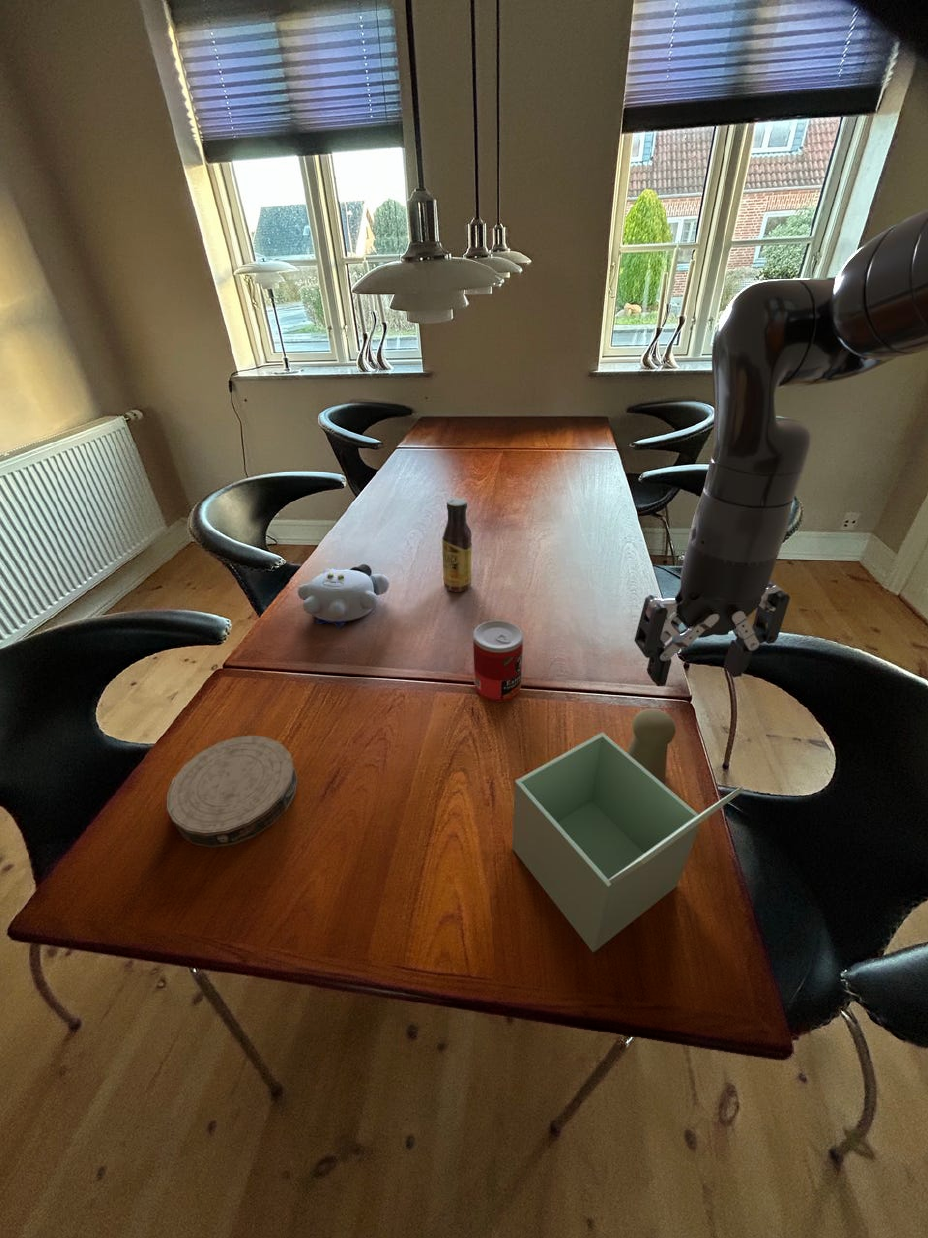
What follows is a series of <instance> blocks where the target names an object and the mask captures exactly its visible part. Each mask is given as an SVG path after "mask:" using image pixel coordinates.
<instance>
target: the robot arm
mask: <svg viewBox="0 0 928 1238" xmlns="http://www.w3.org/2000/svg"><path fill="white" fill-rule="evenodd" d="M925 351H928V207H927V208H925V209H923V210H921V211H918V212H917V213H915V214H914V215H911V216H909V217H908V218H906V219H904V220H902V221H900V222H898V223H897V224H895V225H893V226H891V227H889V228H887V229H886V230H884V231H883V232H881V233H878V235H876V236H874V237H873V238H872V239H870V240H869V241H868V242H866V243H864V244H863V245H862V246H860V248H859V249H857V250H856V251H855V252H854V253H853V254H852V255H851V256H850V257H849V258H848V259H847V261H846V262H845V264H844V265H843V266H842V268H841V270H840V271H839V273H838V275H837V276H834V277H832V276H831V277H812V278H810V277H809V278H785V279H784V278H783V279H767V280H762V281H758V282H754V283H751V284H750V285H748V286H746V287H745V288H743V289H742V290H741V291H740V292H739V293H737V294H736V296H734V297H733V299H732V300H731V301H730V303H729V304H728V306H726V309H725V310H724V312H723V313H722V315H721V316H720V319H719V322H718V324H717V327H716V329H715V331H714V336H713V342H712V349H711V374H712V386H713V388H712V390H713V418H714V419H713V424H714V425H713V426H714V442H713V447H712V451H711V455H710V458H709V459H710V460H709V464H708V468H707V473H706V477H705V482H704V486H703V489H702V492H701V495H700V498H699V500H698V503H697V506H696V508H695V512H694V515H693V519H692V523H691V528H690V531H689V536H688V541H687V543H686V548H685V549H686V550H685V552H684V557H683V562H682V567H681V570H680V587H679V590H678V591H677V593H676V595H675V596H674V597H673V598H664V599H663V598H661V599H660V598H659V597H657V595H655V594H649V595H647V596H646V597H645V599H644V601H643V605H642V610H641V614H640V617H639V620H638V625H637V628H636V631H635V632H636V633H635V636H634V643H635V644H636V646H637V647H638V649H639V650H640V651H641V653H642V654H643V656H644V657H645V658H646V659H648V662H647V667H646V672H647V675H648V677H649V678H650V680H651V681H652V683H654V684H655V685H656V686H657V687H665V686H666V684H667V680H668V677H669V673H670V670H671V669H670V668H671V665H672V657H673V656H674V655H675V654H676V653H677V652H679V650H681V649H682V648H688V647H690V646H691V645H692V644H693V643H694V642H695V640H697V639H701V638H709V637H712V636H727V635H729V633H730V632H732V633H733V634H734V636H735V637H736V638H732V639H731V641H730V644H729V647H728V650H727V653H726V655H725V660H724V663H723V667H724V669H725V671H726V672H727V673H728V674H729V675H730V676H731V677H732V678H739V677H742V675H743V672H745V671H746V670H747V669H748V666H749V663H750V660H751V658H752V656H753V652H754V651H756V650H757V649H759V647H760V645H762V644H764V643H766V644H768V645H771V644H774V643H775V642H776V641H777V640H778V639H779V635H780V632H781V628H782V625H783V622H784V619H785V616H786V613H787V610H788V606H789V603H790V600H791V596H790V595H789V594H788V593H787V592H786V591H785V590H783V589H782V588H781V587H779V586H778V585H777V584H775V583H774V582H772V581H770V580H771V578H772V575H773V572H774V569H775V565H776V563H777V559H778V557H779V554H780V551H781V548H782V546H783V542H784V540H785V536H786V533H787V531H788V527H789V524H790V523H789V522H790V519H791V512H792V506H793V502H794V499H795V496H796V493H797V490H798V488H799V485H800V482H801V478H802V476H803V472H804V470H805V466H806V464H807V461H808V458H809V455H810V450H811V446H812V439H813V437H812V433H811V430H810V429H809V427H808V426H807V425H805V424H804V423H802V422H801V421H798V420H796V419H792V418H788V417H785V416H780V415H777V412H776V393H777V390H778V389H782V388H783V389H784V388H796V387H809V386H819V385H825V384H829V383H834V382H838V381H843V380H845V379H850V378H853V377H856V376H859V375H861V374H863V373H866V372H869V371H871V370H873V369H875V368H878V367H879V366H882V365H884V364H886V363H889V362H891V361H893V360H894V359H896V358H900V357H904V356H905V357H906V356H908V355H914V354H917V353H920V352H925ZM755 610H756V611H755ZM754 612H756V613H755V616H754V620H753V623H752V625H751V623H750V622H749V620H748V617H749V616H750V615H751V614H752V613H754ZM681 624H682V625H683V626H684V627H685V629H686V630H685V631H684V632H683V633H682V631H681V630H680V628H679V627H680V625H681ZM668 641H669V642H668ZM667 642H668V643H667ZM666 643H667V644H666Z"/></svg>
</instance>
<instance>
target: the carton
mask: <svg viewBox="0 0 928 1238" xmlns="http://www.w3.org/2000/svg"><path fill="white" fill-rule="evenodd" d="M513 792H514V794H513V795H514V796H513V798H514V799H513V817H512V818H513V819H512V820H513V821H512V841H511V842H512V844H511V845H512V846H511V849H512V850H513V852H514V853H515V854H516V855H517V857H518V858H519V859H520V860H521V862H522V863H523V864H524V866H525V867H526V868H527V869H528V871H529V872H530V873H531V875H532V876H533V877H534V878H535V880H536V881H537V883H538V884H539V885H540V887H542V889H543V890H544V891H545V893H546V894H547V895H548V896H549V898H550V899H551V901H552V902H553V903H554V904H555V906H556V907H557V908H558V909H559V911H560V912H561V913H562V915H563V916H564V918H566V920H567V921H568V922H569V923H570V925H571V926H572V927H573V929H574V930H575V932H576V933H577V934H578V935H579V936H580V938H581V939H582V940H583V941H584V943H585V944H586V946H587V947H588V948H589V949H590V950H591V952H592V953H595V952H596V951H597V950H598V949H600V948H601V947H602V946H603V945H605V944H606V943H607V942H609V941H610V940H611V939H612V938H614V937H615V936H616V935H617V934H619V933H620V932H622V930H624V929H625V928H626V927H628V925H630V924H631V923H632V922H634V921H635V920H637V918H639V917H640V916H641V915H643V914H644V913H645V912H646V911H648V910H649V909H650V908H652V907H653V906H654V905H656V904H657V903H658V902H659V901H660V900H661V899H663V898H664V897H665V896H666V895H668V894H669V893H670V892H672V891H673V890H674V889H675V888H677V887H678V886H679V884H680V881H681V878H682V875H683V872H684V870H685V867H686V864H687V861H688V858H689V856H690V853H691V850H692V848H693V845H694V842H695V839H696V837H697V834H698V831H699V828H700V826H701V823H699V824H698V825H697V826H695V827H694V828H692V829H691V830H690V831H688V832H687V833H686V834H684V835H683V836H682V837H680V838H679V839H678V840H676V841H675V842H674V843H672V844H671V845H669V846H668V847H667V848H665V849H664V850H663V851H661V852H660V853H659V854H657V855H656V856H655V857H653V858H652V859H651V860H649V861H648V862H646V863H645V864H644V865H642V866H641V867H639V868H637V869H636V870H634V871H633V872H631V873H630V874H628V875H626V876H625V877H623V878H622V879H620V880H618V881H617V882H615V883H614V884H612V885H611V883H610V882H609V880H610V879H611V878H613V877H614V876H616V875H617V874H618V873H620V872H621V871H622V870H624V869H625V868H627V867H628V866H629V865H631V864H632V863H633V862H635V861H636V860H638V859H639V858H640V857H642V856H643V855H644V854H646V853H647V852H649V851H650V850H651V849H653V848H654V847H655V846H657V845H658V844H660V843H661V842H662V841H664V840H665V839H666V838H668V837H669V836H671V835H672V834H673V833H675V832H676V831H677V830H679V829H680V828H682V827H683V826H684V825H686V824H687V823H688V822H690V821H691V820H693V819H694V818H695V817H697V816H698V815H699V814H700V813H698V812H697V811H695V810H694V809H693V808H692V807H691V806H690V805H689V804H687V803H686V802H685V801H684V800H682V799H681V798H680V797H679V796H678V795H677V794H676V793H674V792H673V791H672V790H671V789H669V788H668V786H666V785H665V784H662V783H661V782H660V781H659V780H658V779H657V778H655V777H654V776H653V775H652V774H651V773H650V772H648V771H647V770H646V769H645V768H644V767H643V766H641V765H640V764H639V763H638V762H637V761H636V760H634V759H633V758H632V757H631V756H630V755H629V754H627V751H625V750H624V749H623V748H622V747H621V746H619V745H618V744H617V743H616V742H615V741H613V739H611V738H610V737H609V736H608V735H606V734H605V733H604V732H599V734H597V735H595V736H593V737H591V738H589V739H588V740H586V741H584V742H582V743H580V744H579V745H577V746H575V747H574V748H571V749H569V750H568V751H566V752H565V753H562V754H561V755H559V756H557V757H555V758H554V759H552V760H550V761H548V762H546V763H545V764H543V765H542V766H539V767H538V768H536V769H534V770H533V771H531V772H529V773H527V774H525V775H523V776H521V777H520V778H518V779H516V780H515V781H514V791H513Z"/></svg>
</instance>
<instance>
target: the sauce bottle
mask: <svg viewBox="0 0 928 1238" xmlns="http://www.w3.org/2000/svg"><path fill="white" fill-rule="evenodd" d="M467 509H468V501H467V500H466V499H464V498H461V497H452V498H450V499H448V500H447V501H446V510H447V521H446V525H445V528H444V531H443V535H442V538H441V543H442V544H441V548H442V549H441V551H442V580H443V585H444V587H445V589H446V590H447V591H451V592H454V593H460V592H464V591H467V590H468V589H469V588H470V587H471V585H472V576H473V574H472V572H473V571H472V570H473V569H472V566H473V565H472V563H473V543H472V530H471V528H470V526H469V525H468V523H467Z"/></svg>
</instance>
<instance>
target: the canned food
mask: <svg viewBox="0 0 928 1238" xmlns="http://www.w3.org/2000/svg"><path fill="white" fill-rule="evenodd" d="M523 635H524V634H523V631H522V630H521V628H520V627H518V626H517V625H515V624H514V623H511V622H509V621H505V620H489V621H485V622H482V623H480V624H478V626H476V627H475V628H474V630H473V635H472V656H473V683H474V688H475V690H476V692H477V693H478V695H479V696H480V697H482V698H484V699H486V700H487V701H491V702H497V703H498V702H499V703H501V702H508V701H510V700H512V699H515V697H517V695H518V694H519V692H520V691H521V688H522V676H523V675H522V674H523V654H524V653H523V652H524V636H523Z"/></svg>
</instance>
